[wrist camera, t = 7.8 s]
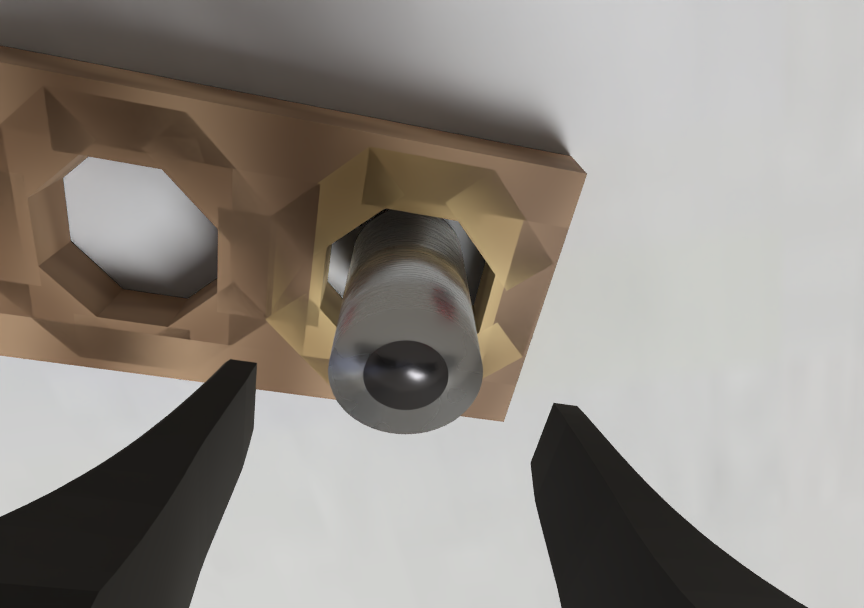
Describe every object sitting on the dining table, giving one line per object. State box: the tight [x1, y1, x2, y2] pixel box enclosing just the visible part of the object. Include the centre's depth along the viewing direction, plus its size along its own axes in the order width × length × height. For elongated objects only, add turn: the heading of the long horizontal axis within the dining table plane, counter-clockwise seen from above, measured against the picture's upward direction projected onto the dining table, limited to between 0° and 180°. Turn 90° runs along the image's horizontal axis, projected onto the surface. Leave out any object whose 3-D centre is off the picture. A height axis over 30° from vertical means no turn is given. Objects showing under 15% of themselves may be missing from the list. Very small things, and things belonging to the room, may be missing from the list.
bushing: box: [328, 210, 483, 434], centre depth 18 cm, size 4×4×7 cm
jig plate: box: [0, 46, 587, 422], centre depth 19 cm, size 18×10×2 cm, turn 79°
